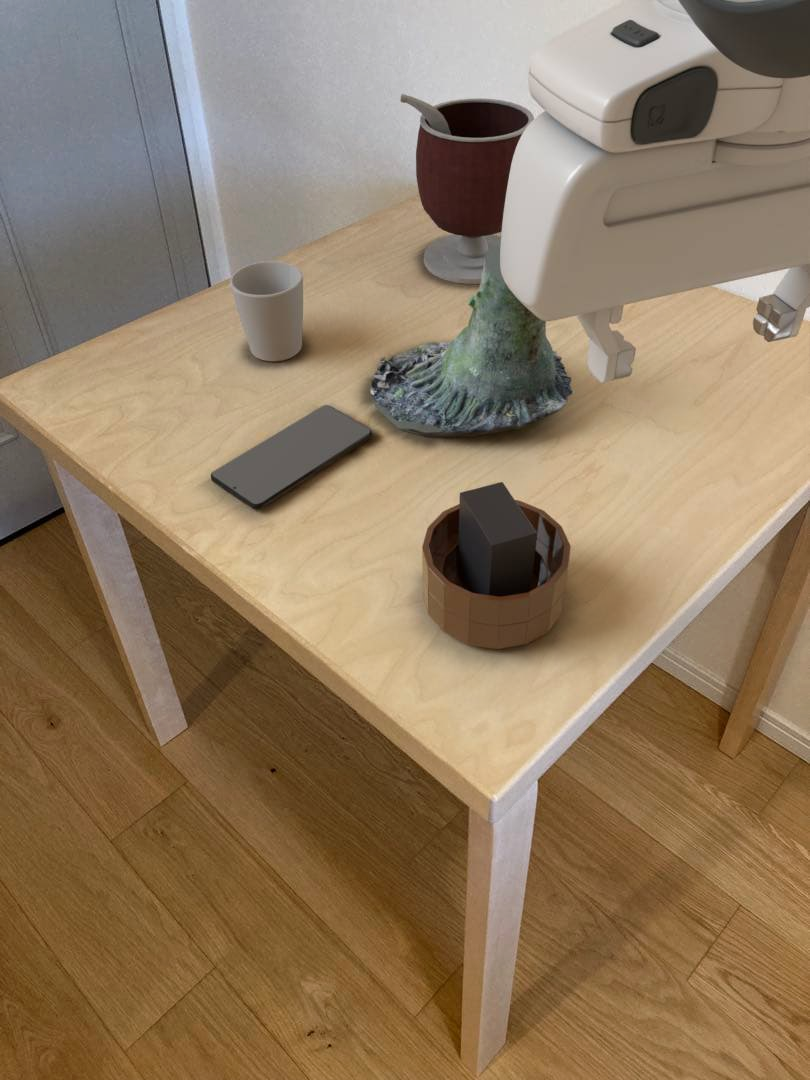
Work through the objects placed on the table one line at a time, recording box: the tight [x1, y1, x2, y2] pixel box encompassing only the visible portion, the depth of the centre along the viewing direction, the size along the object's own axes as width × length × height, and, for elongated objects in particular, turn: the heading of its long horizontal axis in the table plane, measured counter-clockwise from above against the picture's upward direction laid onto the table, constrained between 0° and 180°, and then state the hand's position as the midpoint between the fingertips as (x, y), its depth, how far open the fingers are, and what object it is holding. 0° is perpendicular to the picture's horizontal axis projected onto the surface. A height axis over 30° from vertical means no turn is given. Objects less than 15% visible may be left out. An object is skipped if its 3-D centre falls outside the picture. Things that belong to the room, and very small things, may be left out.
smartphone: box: [210, 404, 373, 511], centre depth 85 cm, size 7×1×15 cm
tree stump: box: [369, 247, 573, 438], centre depth 87 cm, size 18×20×18 cm
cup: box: [229, 260, 304, 362], centre depth 97 cm, size 8×10×8 cm
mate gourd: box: [399, 93, 535, 285], centre depth 105 cm, size 16×14×20 cm
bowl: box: [421, 499, 572, 650], centre depth 70 cm, size 11×11×6 cm
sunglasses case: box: [458, 481, 537, 597], centre depth 68 cm, size 4×6×9 cm, turn 20°
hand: (692, 353), depth 44 cm, fingers open, 8 cm apart
